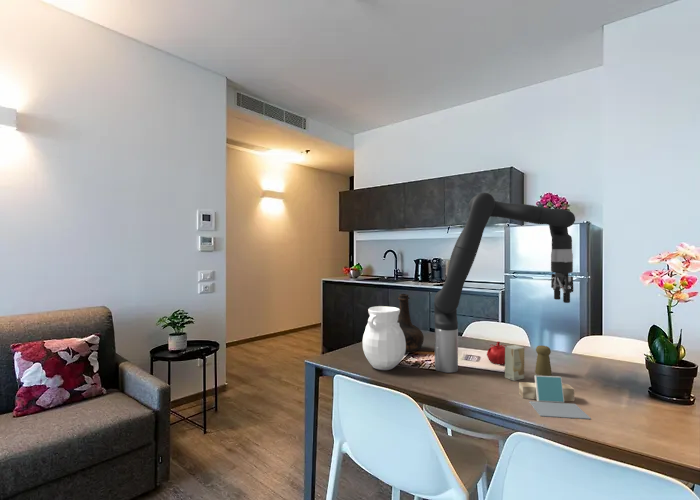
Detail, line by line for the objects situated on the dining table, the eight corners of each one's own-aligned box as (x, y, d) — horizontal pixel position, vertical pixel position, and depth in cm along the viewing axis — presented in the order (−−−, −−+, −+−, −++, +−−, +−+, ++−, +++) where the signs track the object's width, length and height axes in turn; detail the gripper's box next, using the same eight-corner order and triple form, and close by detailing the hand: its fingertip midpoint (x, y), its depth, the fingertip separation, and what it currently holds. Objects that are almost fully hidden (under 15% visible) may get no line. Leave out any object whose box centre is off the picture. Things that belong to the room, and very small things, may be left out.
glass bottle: (430, 350, 177) (430, 293, 177) (410, 358, 164) (409, 297, 164) (400, 343, 189) (400, 291, 189) (379, 350, 176) (379, 294, 176)
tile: (538, 402, 117) (538, 377, 117) (534, 398, 121) (534, 374, 121) (564, 403, 116) (564, 378, 116) (560, 399, 119) (559, 375, 120)
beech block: (522, 398, 120) (522, 386, 120) (519, 393, 124) (519, 382, 124) (574, 401, 118) (574, 389, 118) (568, 396, 122) (568, 384, 122)
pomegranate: (515, 363, 157) (516, 342, 156) (502, 367, 151) (503, 346, 151) (495, 357, 165) (495, 337, 165) (482, 361, 159) (482, 340, 159)
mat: (540, 416, 108) (540, 415, 108) (528, 402, 117) (528, 401, 117) (591, 419, 106) (591, 418, 106) (574, 404, 115) (574, 403, 115)
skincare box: (513, 381, 136) (513, 349, 135) (504, 377, 139) (504, 346, 139) (525, 378, 138) (525, 347, 138) (515, 374, 142) (515, 344, 142)
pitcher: (385, 377, 140) (384, 314, 140) (353, 366, 154) (353, 308, 154) (415, 366, 153) (414, 308, 152) (383, 357, 166) (383, 303, 166)
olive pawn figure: (554, 376, 140) (554, 348, 140) (537, 375, 142) (537, 347, 141) (548, 371, 146) (548, 344, 146) (533, 370, 148) (532, 343, 147)
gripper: (544, 259, 150) (544, 298, 150) (559, 261, 136) (559, 303, 136) (563, 259, 149) (563, 298, 149) (580, 261, 135) (580, 304, 135)
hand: (561, 301), depth 143 cm, fingers open, 8 cm apart
